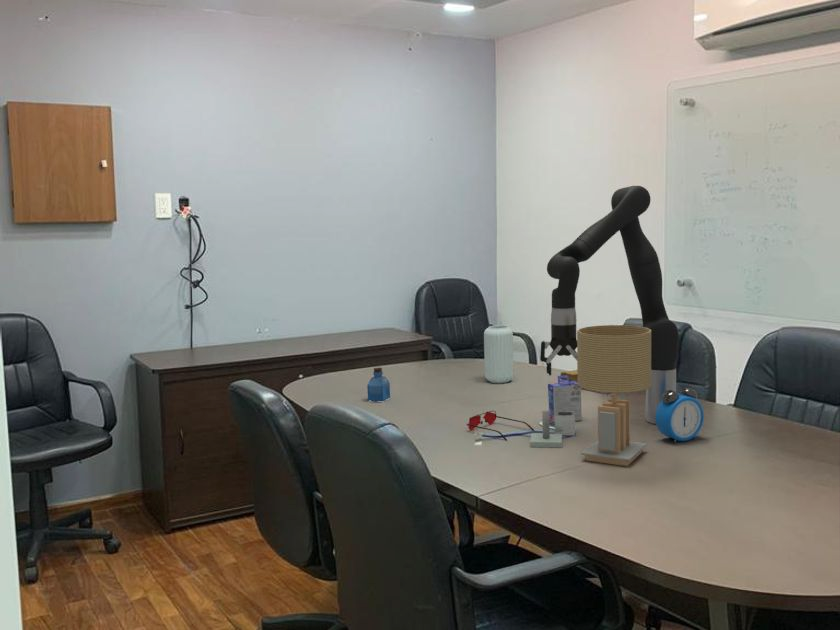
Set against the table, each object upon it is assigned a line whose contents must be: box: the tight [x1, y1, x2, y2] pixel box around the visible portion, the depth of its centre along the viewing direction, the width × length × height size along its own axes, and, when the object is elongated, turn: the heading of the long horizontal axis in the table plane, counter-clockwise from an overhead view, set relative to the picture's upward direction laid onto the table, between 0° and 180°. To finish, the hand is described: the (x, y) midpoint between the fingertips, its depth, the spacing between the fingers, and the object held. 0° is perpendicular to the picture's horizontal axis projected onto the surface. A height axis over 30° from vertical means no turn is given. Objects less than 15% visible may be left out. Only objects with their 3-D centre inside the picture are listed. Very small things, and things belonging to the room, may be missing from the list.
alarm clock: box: [655, 387, 705, 443], centre depth 233 cm, size 13×6×15 cm, turn 113°
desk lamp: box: [576, 324, 651, 467], centre depth 218 cm, size 20×20×35 cm
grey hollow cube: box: [554, 411, 576, 437], centre depth 245 cm, size 6×6×6 cm
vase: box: [483, 324, 514, 384], centre depth 320 cm, size 12×12×22 cm
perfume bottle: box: [367, 367, 391, 402], centre depth 296 cm, size 6×6×12 cm
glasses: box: [465, 410, 536, 442], centre depth 249 cm, size 14×16×5 cm
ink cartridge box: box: [547, 375, 583, 424], centre depth 259 cm, size 10×6×14 cm, turn 102°
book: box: [560, 369, 612, 396], centre depth 306 cm, size 25×17×6 cm
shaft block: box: [529, 410, 563, 449], centre depth 235 cm, size 9×9×10 cm
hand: (564, 374), depth 243 cm, fingers open, 8 cm apart
